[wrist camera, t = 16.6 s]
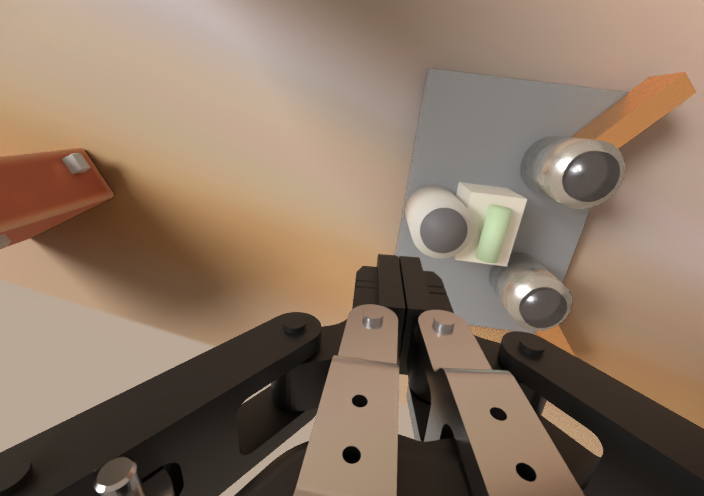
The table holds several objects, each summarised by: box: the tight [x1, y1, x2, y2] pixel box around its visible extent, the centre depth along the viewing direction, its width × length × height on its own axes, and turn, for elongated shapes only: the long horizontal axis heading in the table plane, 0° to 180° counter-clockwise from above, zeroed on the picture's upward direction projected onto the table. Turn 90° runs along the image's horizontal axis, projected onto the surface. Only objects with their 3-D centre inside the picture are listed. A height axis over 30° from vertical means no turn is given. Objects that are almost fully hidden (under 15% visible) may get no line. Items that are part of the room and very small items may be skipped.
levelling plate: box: [395, 68, 629, 334], centre depth 31 cm, size 24×17×8 cm
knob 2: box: [520, 72, 696, 209], centre depth 27 cm, size 12×5×7 cm, turn 132°
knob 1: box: [489, 253, 575, 356], centre depth 33 cm, size 12×5×7 cm, turn 33°
